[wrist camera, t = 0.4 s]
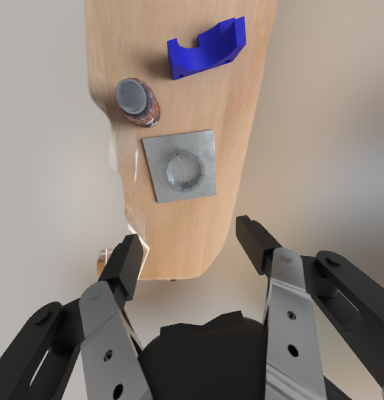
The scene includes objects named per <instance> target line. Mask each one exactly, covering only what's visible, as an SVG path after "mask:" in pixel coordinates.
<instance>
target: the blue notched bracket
mask: <svg viewBox="0 0 384 400" xmlns="http://www.w3.org/2000/svg"><path fill="white" fill-rule="evenodd" d="M197 42H198V47H197V48H183V47H181V46H180V45H179V44H178V42H177V38H176V39H172V40H169V41H167V47H168V61H169V64H170V68H171V72H172V76H173V80H176V79H179V78H183V77H186V76H189V75H192V74H195V73H198V72H202V71H205V70H208V69H211V68H214V67H217V66H220V65H224V64H227V63H230V62H232V61H233V60H234V59H235V57H236V56H237V55H238V54H239V52H240V51H241V50H242V49H243V47H244V46H245V45H246V34H245V20H244V17H241V18H238V19H235V18H232V19H229V20H225V21H222V22H219V23H218V24H217V25H216V26H214V27H213V28H211V29H210V30H208V31H206V32H204V33H202V34H199V35H198V38H197Z"/></svg>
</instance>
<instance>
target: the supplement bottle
mask: <svg viewBox="0 0 384 400" xmlns="http://www.w3.org/2000/svg"><path fill="white" fill-rule="evenodd" d="M115 93H116V103H117V106H118V109H119V111H120V112H121V114H122V115H123V116H124V117H125V118H126V119H127V120H129V121H130V122H132V123H135V124H137V125H140V126H143V127H152V126H154V125H156V124H157V122H158V121H159V118H160V107H159V104H158V102H157V100H156V98H155V95H154V93H153V92H152V90H151V88H150V87H149V86H148V85H147V84H146V83H145V82H143V81H142V80H140V79H137V78H127V79H123V80H121V81H120V82H119V83H118V85H117V87H116V92H115Z"/></svg>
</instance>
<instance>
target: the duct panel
mask: <svg viewBox="0 0 384 400" xmlns="http://www.w3.org/2000/svg"><path fill="white" fill-rule="evenodd" d="M142 140H143V144H144V148H145V152H146V156H147V160H148V164H149V168H150V172H151V176H152V180H153V184H154V188H155V192H156V196H157V200H158V204H159V203H166V202H172V201H179V200H185V199H192V198H198V197H205V196H211V195H216V171H215V145H214V130H210V131H202V132H194V133H186V134H178V135H170V136H162V137H153V138H145V139H142Z"/></svg>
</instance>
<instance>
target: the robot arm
mask: <svg viewBox="0 0 384 400" xmlns="http://www.w3.org/2000/svg"><path fill="white" fill-rule="evenodd" d="M236 236H237V239H238V240H239V242H240V244H241V245H242V247H243V249H244V250H245V252H246V254H247V255H248V257H249V259H250V260H251V262H252V264H253V265H254V267H255V269H256V270H257V272H258V274H259V275H264V274H266V276H267V278H268V280H267V289H266V298H265V308H264V315H263V322H262V324H261V323H259V322H257V321H256V320H253V319H250V318H247V317H243V315H242V313H241V311H236V312H231V313H226V314H222V315H220V316H218V317H216V318H215V319H213V320H211V321H210V322H208V323H206V324H204V325H192V324H184V323H179V324H174V325H169V326H165V327H161V329H160V335H159V336H157V337H156V338H155V339H154V340H152V341H151V342H150V343H149V344H148V345H147V346H146V347H145V348H143V346H142V344H141V342H140V341H139V339H138V337H137V335H136V333H135V331H134V329H133V327H132V324H131V322H130V320H129V318H128V315H127V313H126V311H125V309H124V305H125V302H126V301H130V300H132V299H133V295H134V291H135V287H136V282H137V279H138V275H139V270H140V266H141V262H142V258H143V247H142V245H141V242H140V240H139V237H138V235H137V234H131V235H126V236H125V238H124V240H123V242H122V243H119V244H118V245H117V247H115V249H114V250H113V252H112V254H111V256H110V258H109V260H108V262H107V264H106V266H105V268H104V270H103V272H102V274H101V276H100V278H99V280H98V282H96V283H94V284H93V285H91V286H90V287H89V288H87V289H86V290H85V291H84V293H83V294H82V295H81V297H80V298H78V299H76V300H74V301H72V302H70V303H68V304H66V305H64V306H63V305H61V303H59V302H52V303H49V304H47V305H45V306H43V307H42V308H40V309H39V310H38V311H37V312H35V313H34V314H33V315H32V316H31V317H30V318H29V320H28V321H27V322H26V324H25V325H24V326H23V328H22V329H21V331H20V332H19V333H18V334H17V336H16V337H15V339H14V340H13V341H12V343H11V344H10V345H9V347H8V348H7V350H6V351H5V352H4V354H3V355H2V356H1V358H0V400H61V399H62V396H63V394H64V391H65V389H66V386H67V383H68V381H69V378H70V376H71V373H72V371H73V368H74V365H75V362H76V360H77V358H78V355H79V352H80V350H81V355H82V363H83V369H84V376H85V383H86V390H87V397H88V400H352V399H351V398H349V397H348V396H347V395H346V394H345V393H344V392H342V391H341V390H340V389H339V388H338V387H336V386H335V385H334V384H333V383H332V382H331V381H329V380H328V379H327V378H326V377H325V376H324V375H323V370H322V364H321V357H320V352H319V351H320V350H319V344H318V337H317V331H316V324H315V318H314V311H313V305H312V299H313V300H314V301H315V302H316V304H317V305H318V306H319V308H320V309H321V310H322V312H323V313H324V314H325V316H326V317H327V318H328V319H329V321H330V322H331V323H332V325H333V326H334V327H335V328H336V330H337V331H338V332H339V334H340V335H341V336H342V337H343V339H344V340H345V341H346V343H347V344H348V345H349V347H350V348H351V349H352V350H353V352H354V353H355V354H356V356H357V357H358V358H359V359H360V361H361V362H362V363H363V364H364V366H365V367H366V368H367V370H368V371H369V372H370V374H371V375H372V376H373V377H374V378H375V380H376V381H377V383H378V384H379V385H380V387H381V388H382V396H383V400H384V288H383V287H381V286H380V285H379V284H377V283H376V282H375V281H374V280H372V279H371V278H370V277H369V276H367V275H366V274H365V273H363V272H362V271H361V270H360V269H358V268H357V267H356V266H354V265H353V264H352V263H351V262H349V261H348V260H347V259H345V258H344V257H342V256H341V255H339V254H336V253H334V252H330V251H319V252H318V253H317V255H316V257H311V256H300V255H298V254H297V253H296V252H295V251H293V250H291V249H288V248H284V247H282V246H281V245H280V244H279V243H278V242H277V241H276V239H275V238H274V237H273V236H272V235H271V234H270V233H268V231H267V230H266V229H265V228H264V227H263V226H262V225H261V224H260V223H258V222H257V221H255V220H252V221H251V220H250V218H249V217H248V216H247V215H245V216H238V217H236ZM339 291H340V292H342V294H343V295H344V296H345V297H346V298H347V299H348V300H349V301H350V302H351V303H352V304H353V305H354V306H355V307H356V308H357V309H358V311H359V312H360V313H359V312H358V311H357V310H356V308H355V307H353V305H352V304H350V302H349V301H348V300H347V299H346V298H345V297H344V296H343V295H342V294H341V293H340V292H339ZM311 298H312V299H311ZM47 350H48V351H49V352H48V354H47V356H46V357H45V359H44V361H43V363H42V365H41V367H40V369H39V371H38V372H37V374H36V376H35V378H34V380H33V382H32V384H31V386H30V383H31V380H32V378H33V375H34V374H35V372H36V370H37V368H38V366H39V364H40V363H41V361H42V359H43V357H44V355H45V353H46V351H47Z"/></svg>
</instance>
